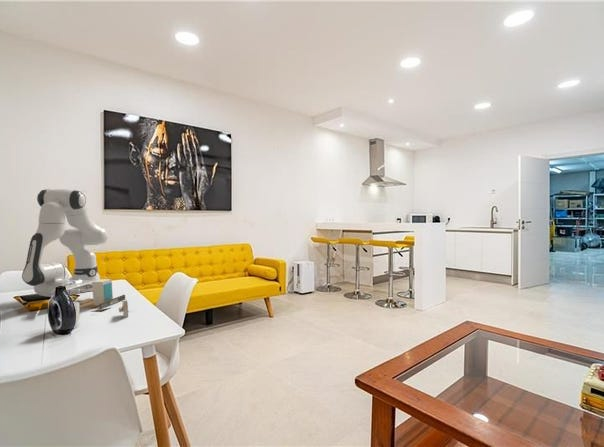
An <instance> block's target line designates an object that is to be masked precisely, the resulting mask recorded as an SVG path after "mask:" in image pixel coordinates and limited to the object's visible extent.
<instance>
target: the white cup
mask: <svg viewBox="0 0 604 447" xmlns="http://www.w3.org/2000/svg"><path fill="white" fill-rule="evenodd" d="M72 302H73V303H74V306H75V309H76V324H75V328H74V329H73V330H75V329H77V328H79V326H80V308H79V301H72Z"/></svg>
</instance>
